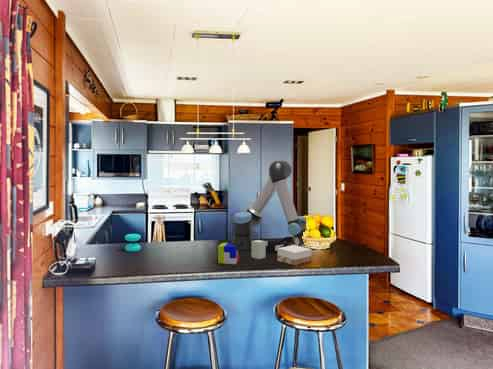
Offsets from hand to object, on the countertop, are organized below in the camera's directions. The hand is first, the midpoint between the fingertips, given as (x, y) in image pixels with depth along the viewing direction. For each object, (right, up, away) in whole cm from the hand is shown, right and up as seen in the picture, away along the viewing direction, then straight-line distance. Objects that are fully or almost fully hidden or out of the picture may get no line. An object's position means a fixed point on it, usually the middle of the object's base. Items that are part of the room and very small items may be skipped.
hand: (267, 246), depth 253 cm
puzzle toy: (-23, -7, -14) cm, 28 cm away
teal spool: (-86, -4, +13) cm, 87 cm away
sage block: (-6, -6, -3) cm, 9 cm away
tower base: (+15, -7, -12) cm, 20 cm away
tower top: (+15, -3, -12) cm, 20 cm away
